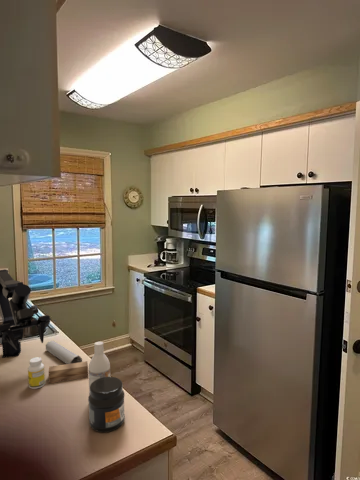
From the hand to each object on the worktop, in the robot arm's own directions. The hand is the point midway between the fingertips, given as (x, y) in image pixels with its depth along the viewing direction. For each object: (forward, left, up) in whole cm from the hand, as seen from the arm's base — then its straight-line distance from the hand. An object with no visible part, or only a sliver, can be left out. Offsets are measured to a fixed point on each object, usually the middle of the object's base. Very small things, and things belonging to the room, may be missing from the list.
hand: (30, 345), depth 124 cm
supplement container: (+24, -35, -13) cm, 45 cm away
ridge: (+13, -3, -13) cm, 19 cm away
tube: (+11, +14, -13) cm, 22 cm away
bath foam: (+23, -23, -13) cm, 35 cm away
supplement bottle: (+2, -6, -13) cm, 14 cm away
